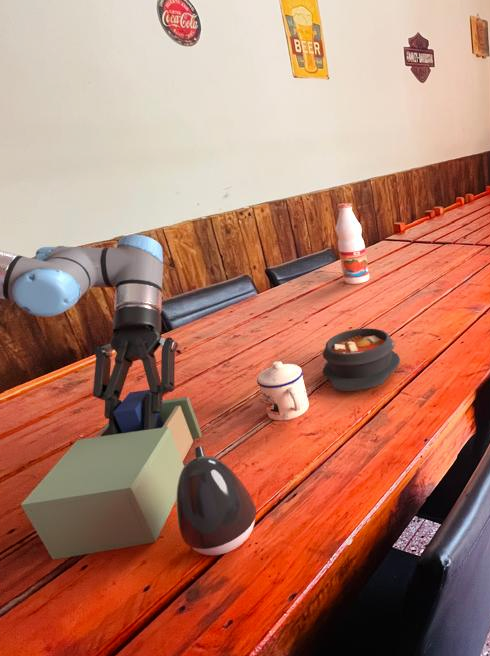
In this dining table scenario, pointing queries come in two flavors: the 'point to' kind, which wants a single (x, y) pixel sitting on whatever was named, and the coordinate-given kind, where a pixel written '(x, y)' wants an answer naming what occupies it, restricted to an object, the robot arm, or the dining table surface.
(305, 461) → the dining table surface
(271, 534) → the dining table surface
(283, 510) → the dining table surface
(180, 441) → the drawer
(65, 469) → the cabinet
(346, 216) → the fruit juice
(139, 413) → the rectangular block
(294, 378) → the teacup with lid
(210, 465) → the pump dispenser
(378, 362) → the casserole
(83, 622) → the dining table surface
